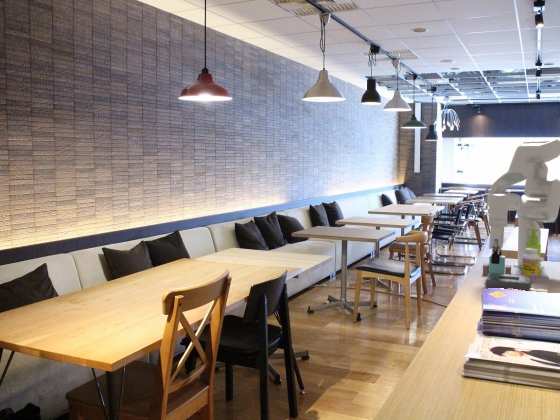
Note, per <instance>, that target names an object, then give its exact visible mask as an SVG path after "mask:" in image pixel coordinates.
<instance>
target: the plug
mask: <svg viewBox="0 0 560 420" xmlns="http://www.w3.org/2000/svg"><path fill="white" fill-rule="evenodd" d="M491 255H492V254H490V255H489V257H488V259H489V261H488V264H489V273H497V274H505V267H506V256H505V255H502V256H500V261H499V264H492V263H491Z"/></svg>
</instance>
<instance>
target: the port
mask: <svg viewBox="0 0 560 420" xmlns="http://www.w3.org/2000/svg"><path fill="white" fill-rule="evenodd" d="M531 283H532V278H531V276H523V275H522V274H521V275H520V274H512V275H510V274H497V273H489V275H488V276H486V279H485V288H490V289H500V288H513V289H521V290H520V291H523V290H530V291H531Z"/></svg>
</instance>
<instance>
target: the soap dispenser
mask: <svg viewBox="0 0 560 420" xmlns="http://www.w3.org/2000/svg"><path fill="white" fill-rule="evenodd" d="M524 231H532V236H531V237H530V238H529V244H526V248H535V249H538V252H537V255H539V257H540V259H541V258H542V256H541V254H542V253H541V252H542V246H541V244H540V245H539V244H538V237H537V236H536V231H538V230H536V229H526V230H524ZM539 274H541V269H540V267H539Z"/></svg>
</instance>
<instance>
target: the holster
mask: <svg viewBox="0 0 560 420" xmlns="http://www.w3.org/2000/svg"><path fill="white" fill-rule="evenodd" d="M505 274H510V275H514V273H513V272H512V265H510V264H505ZM488 275H489V263H483V265H482V272H481V274H480V276H481V277H488Z"/></svg>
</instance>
